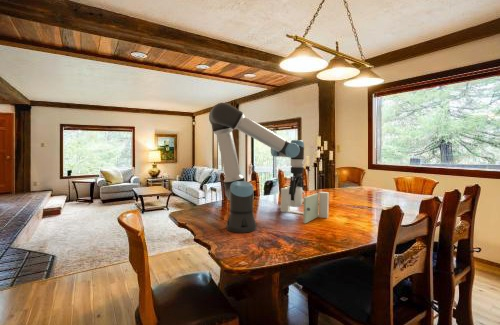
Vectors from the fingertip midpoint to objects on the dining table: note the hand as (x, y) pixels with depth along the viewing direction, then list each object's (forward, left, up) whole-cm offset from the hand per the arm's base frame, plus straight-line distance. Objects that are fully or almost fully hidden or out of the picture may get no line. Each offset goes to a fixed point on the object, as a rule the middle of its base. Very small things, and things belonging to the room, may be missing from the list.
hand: (296, 204), depth 157 cm
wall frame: (0, +11, -8) cm, 14 cm away
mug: (0, +1, -1) cm, 1 cm away
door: (+10, -1, -8) cm, 13 cm away
